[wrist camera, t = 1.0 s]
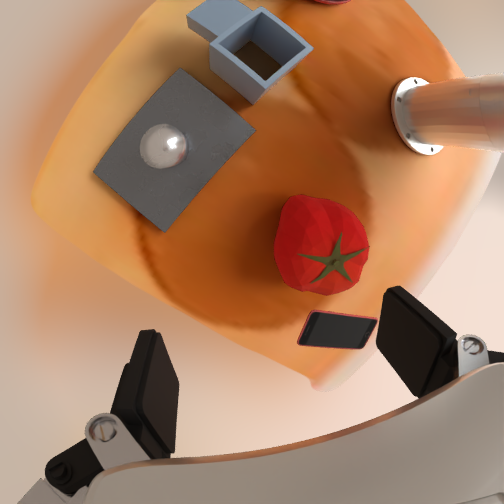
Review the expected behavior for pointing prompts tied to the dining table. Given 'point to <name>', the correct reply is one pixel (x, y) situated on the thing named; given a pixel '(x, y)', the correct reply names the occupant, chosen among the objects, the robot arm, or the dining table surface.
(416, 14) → the dining table surface
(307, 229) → the tomato
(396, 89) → the robot arm
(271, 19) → the elbow
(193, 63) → the dining table surface
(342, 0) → the plant pot
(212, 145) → the duct base
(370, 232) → the dining table surface
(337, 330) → the smartphone
